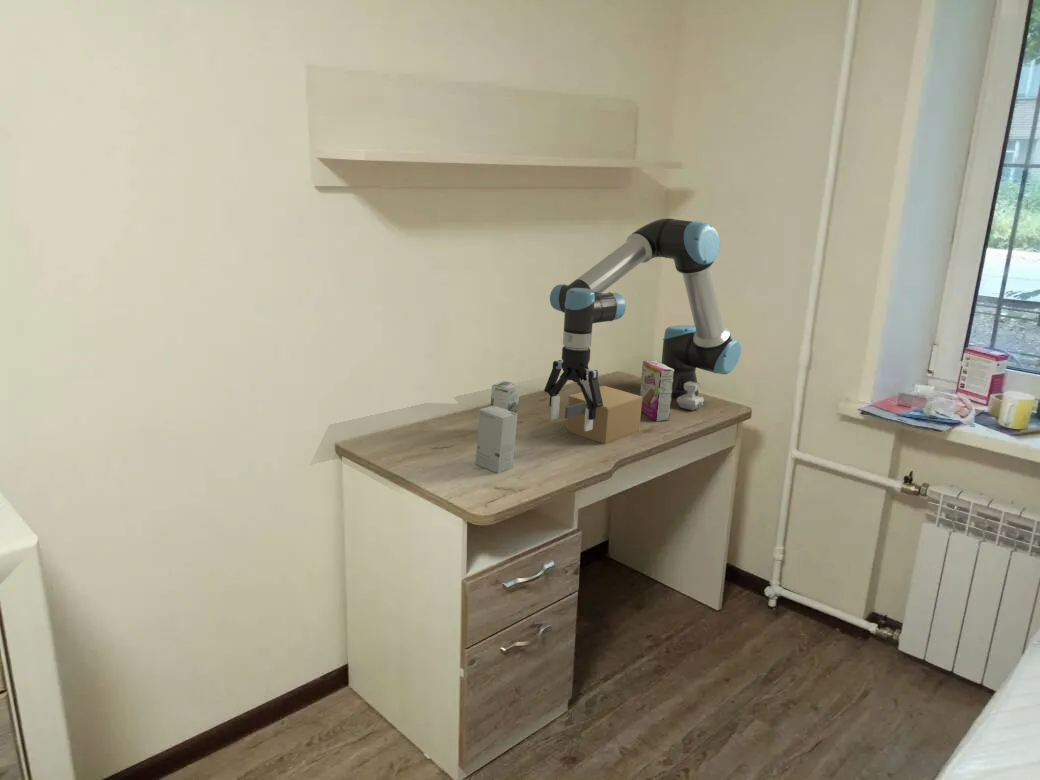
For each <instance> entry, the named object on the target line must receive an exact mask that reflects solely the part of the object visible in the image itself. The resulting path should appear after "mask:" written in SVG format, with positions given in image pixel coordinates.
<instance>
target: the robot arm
mask: <svg viewBox="0 0 1040 780" xmlns="http://www.w3.org/2000/svg"><path fill="white" fill-rule="evenodd" d="M719 236H720V235H719V233H718V231H717V229H716V228H715V227H714V226H713V225H711V224H709V223H707V222H702V221H700V220H693V221H690V220H683V219H675V218H669V217H668V218H667V217H666V218H660V219H656V220H653V221H652V222H650V223H647V224H645V225H643V226H641V227H640V228H638V229H636V230H635V231H633V232H632V233H631V234H630V235H628V237H627V238H626V242H625V243H623V244H622V245H620V246H619V247H618V248H616V249H615V250H614V251H612V252H611V253H610V254H608V255H607V256H606V257H604V258H603V259H602V260H600V261H599V262H598V263H596V264H595V265H593V266H592V267H591V268H589V270H587V271H586V272H584V273H583V274H581V275H580V276H578V278H576V279H575V280H574V281H572V282H571V283H569V284H565V283H564V284H557V285H555V286H554V287H553V288H552V289H551V291H550V294H549V302H550V303H549V304H550V305H551V307H552V308H553V309H554V310H556V311H559V312H561V313H564V319H563V320H564V321H563V335H562V338H563V339H562V345H563V347H562V348H561V359H560V360H559V359H557V360H554V361H553V362H552V369H551V372H550V374H549V376H548V379H547V382H546V384H545V387H544V393H547V394H548V395H549V407H550V417H549V418H550V419H549V420H552V421H554V420H557V419H559V418H560V405H561V402H560V401H561V396H560V391H561V390H562V389H563V388H564V386H565V385H566V383H567V382H568V381H572V382H573V383H577V386H578V387H579V388H580V390H581V392H582V393H583V395H584V398H585V400H586V402H587V405H588V407H587V408H586V411H585V424H584V431H589V430H592V428H593V419H595V417H596V408H598V407H601V406H603V402H602V397H601V392H600V388H599V387H600V383H599V379H598V378H599V377H598V376H599V371H598V369H594V370H593V369H590V368H589V363H590V360H591V348H590V347H591V346H592V338H593V335H592V334H593V332H592V331H593V324H596V323H605V322H613V321H616V320H620V319H621V318H622V317H623V316H624V315H625V312H626V300H625V298H624V297H623V295H621V294H620V293H618V292H611V291H610V292H607V293H606V292H605V293H604V291H606V290H608V289H609V287H611V286H613V285H614V284H615V283H617V282H618V281H619V280H620V279H622V278H623V277H624V276H625V275H626V274H628V273H630V272H631V271H632V270H633V269H635V268H636V267H637V266H638V265H640V264H641V263H642V264H644V263H648V262H649V261H650V260H652V259H654V258H665V259H671V260H673V262H674V265H675V269H676V271H677V272H678V273H680V274H682V278H683V281H684V286H685V291H686V293H687V298H688V302H689V307H690V310H691V315H692V319H693V323H694V325H692V324H689V325H688V324H681V325H670V326H669V327H667V328H666V329H665V330H664V335H663V339H662V340H663V343H662V354H661V363H662V364H664V365H666V366H668V367H670V368H672V369H674V377H673V387H672V397H671V398H673V399H677V398H678V397H680V396H682V395H684V394H686V393H688V392H687V391H686V390H684V384H685V383H687V382H689V381H692V382H696V383H699V382H698V379H697V378H698V377H697V373H696V370H697V369H700V370H703V371H706V372H710V373H713V374H718V375H719V374H720V375H727V374H730V373H731V372H732V371H733V370H734V369H735V367H736V366H737V364H738V363H739V359H740V357H741V353H742V345H741V343H740V342H739V341H738V340H736V339H733V338H731V337H732V336H731V332H730V330H729V328H728V327H726V325H724V323H723V319H722V313H721V308H720V304H719V300H718V299H719V298H718V294H717V290H716V284H715V280H714V275H713V270H712V266H713V264H714V263H715V260H716V258H717V257H718V255H719V252H720V250H719V248H720V247H721V245H720V243H721V241H720V237H719ZM561 371H563V372H562V373H561ZM560 374H561V375H560ZM699 390H700V389H699ZM699 390H698V391H696V392H695V395H696V396H699V392H700V391H699Z"/></svg>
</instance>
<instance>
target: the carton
mask: <svg viewBox="0 0 1040 780" xmlns="http://www.w3.org/2000/svg"><path fill="white" fill-rule="evenodd" d="M578 403H581V401H578V400H575V399H571V398H569V397H568V406H571V405H574V404H578ZM641 407H642V399H639V400H636V401H633V402H630V403H627V404H624V405H620V406H617V407H614V408H611V409H608V410H607V409H603V408H600V407H598V408H596V417H595V419H593V428H592V430H589V431H584V424H585V413H584V414H581V415H577V416H574V417H571V418H568V419H567V422H566V424H567V425H566V432H569V431H570V433H572V432H573V433H572V434H575V433H576V434H575V435H578V436H581V437H583V436H584V437H583V438H586V437H587V438H586V439H589V438H590V440H592V439H593V441H595V440H596V441H595V442H598V441H599V443H601V444H604V443H605V444H604V445H606V443H607V444H609V442H610V443H612V441H613V442H615V441H617V440H621V439H623V437H624V438H626V437H629V436H632V435H634V434H637V433H640V427H641V418H642V417H641V416H642V412H641ZM620 438H621V439H620Z"/></svg>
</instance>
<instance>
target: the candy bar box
mask: <svg viewBox="0 0 1040 780" xmlns="http://www.w3.org/2000/svg"><path fill="white" fill-rule="evenodd" d="M673 377H674V369H672V368H670V367H668V366H666V365H664V364H662V362H659V361H658V360H656V359H655V360H653V359H652V360H651V359H649V360H643V361H642V369H641V380H640V388H639V389H640V390H639V391H640V393H639V396H642V407H641V414H644V415H645V416H647V417H648V418H650V419H652V420H653V421H655V422H665V421H666V422H667V421H670V415H671V414H670V413H671V407H672V406H671V405H672V398H673V397H672V387H673Z"/></svg>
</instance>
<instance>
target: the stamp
mask: <svg viewBox="0 0 1040 780" xmlns="http://www.w3.org/2000/svg"><path fill="white" fill-rule="evenodd" d="M700 388H701V383H700V382H698V383H696V382H692V381H689V382H687V383H685V384H684V390H686V391H687V392H688V393H686V394H684V395H682V396H680V397H678V398H676V403H677V404H678V406H679V408H682V409H685V410H688V411H694V410H696V409H698V408H702V407H703V406H704V402H705V399H704V397H703V396H699V395H697V396H696V395H695V392H696V391H698V390H700ZM698 392H699V391H698Z"/></svg>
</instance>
